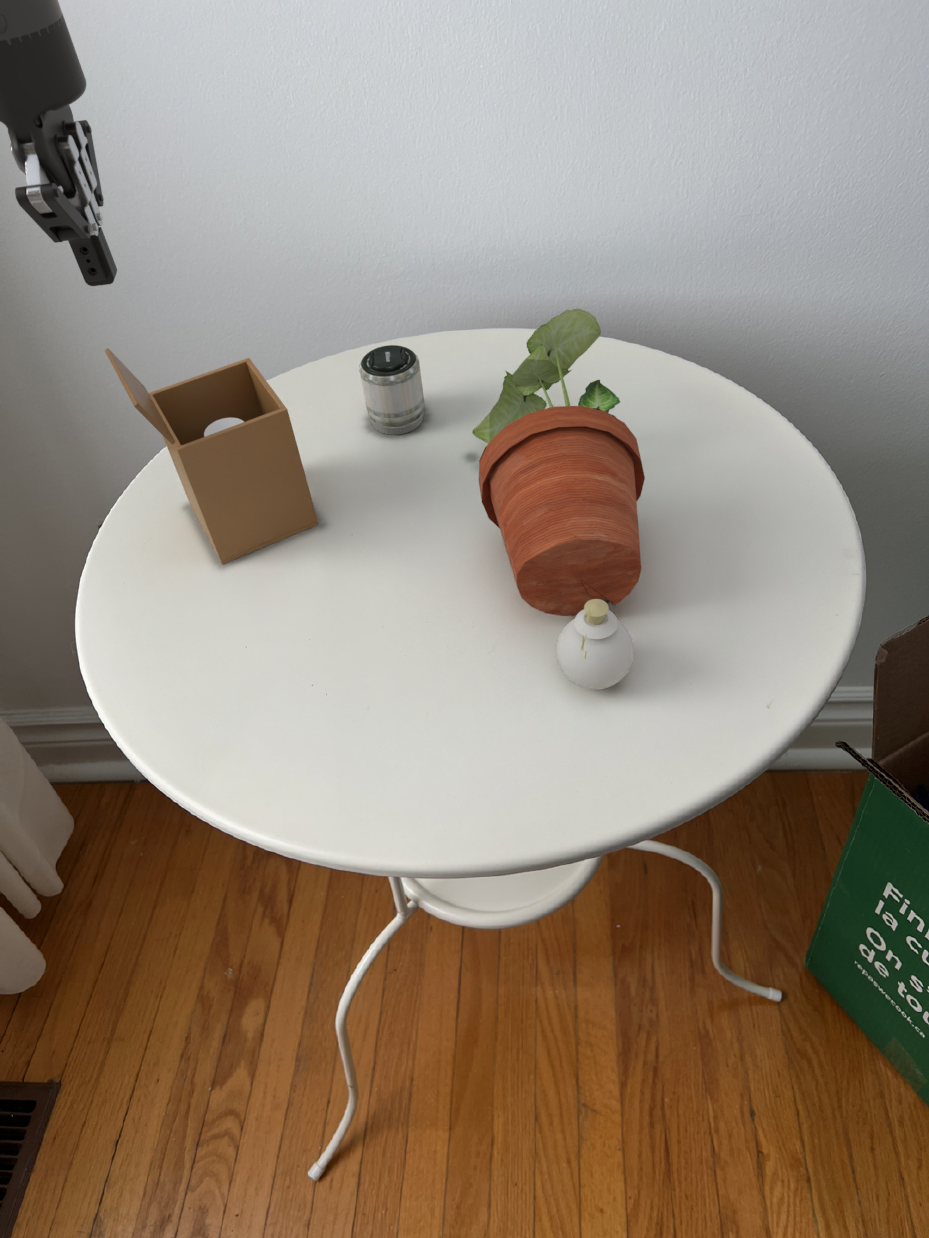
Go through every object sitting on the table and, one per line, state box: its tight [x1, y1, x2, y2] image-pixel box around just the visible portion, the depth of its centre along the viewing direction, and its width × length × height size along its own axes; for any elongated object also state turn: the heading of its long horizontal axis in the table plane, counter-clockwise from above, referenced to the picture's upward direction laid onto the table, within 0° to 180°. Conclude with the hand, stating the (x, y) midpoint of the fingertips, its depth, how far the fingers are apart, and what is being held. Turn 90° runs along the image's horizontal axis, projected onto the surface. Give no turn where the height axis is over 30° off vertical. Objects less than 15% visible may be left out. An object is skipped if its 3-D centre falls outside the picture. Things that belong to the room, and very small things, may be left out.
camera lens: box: [358, 344, 425, 436], centre depth 97 cm, size 6×6×8 cm
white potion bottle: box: [555, 599, 635, 690], centre depth 70 cm, size 6×7×10 cm
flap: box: [104, 347, 175, 445], centre depth 78 cm, size 5×10×1 cm
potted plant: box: [471, 308, 646, 617], centre depth 84 cm, size 16×15×35 cm
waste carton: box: [148, 357, 319, 565], centre depth 86 cm, size 10×10×14 cm
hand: (103, 280), depth 70 cm, fingers closed
